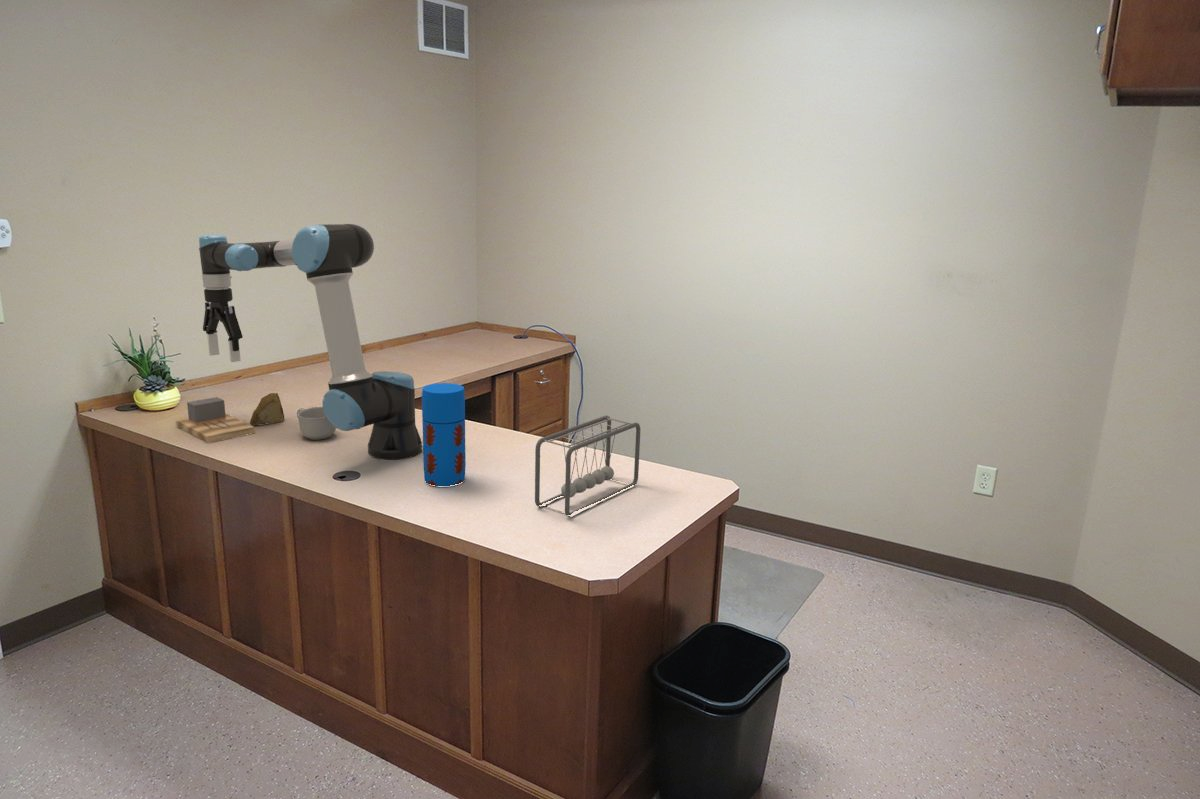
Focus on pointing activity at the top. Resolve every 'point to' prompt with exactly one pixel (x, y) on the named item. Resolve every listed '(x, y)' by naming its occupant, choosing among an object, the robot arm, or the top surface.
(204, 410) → the block
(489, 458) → the top surface
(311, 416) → the teacup
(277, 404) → the rock
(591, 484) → the newton's cradle
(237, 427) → the board
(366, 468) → the top surface
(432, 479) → the thermos
